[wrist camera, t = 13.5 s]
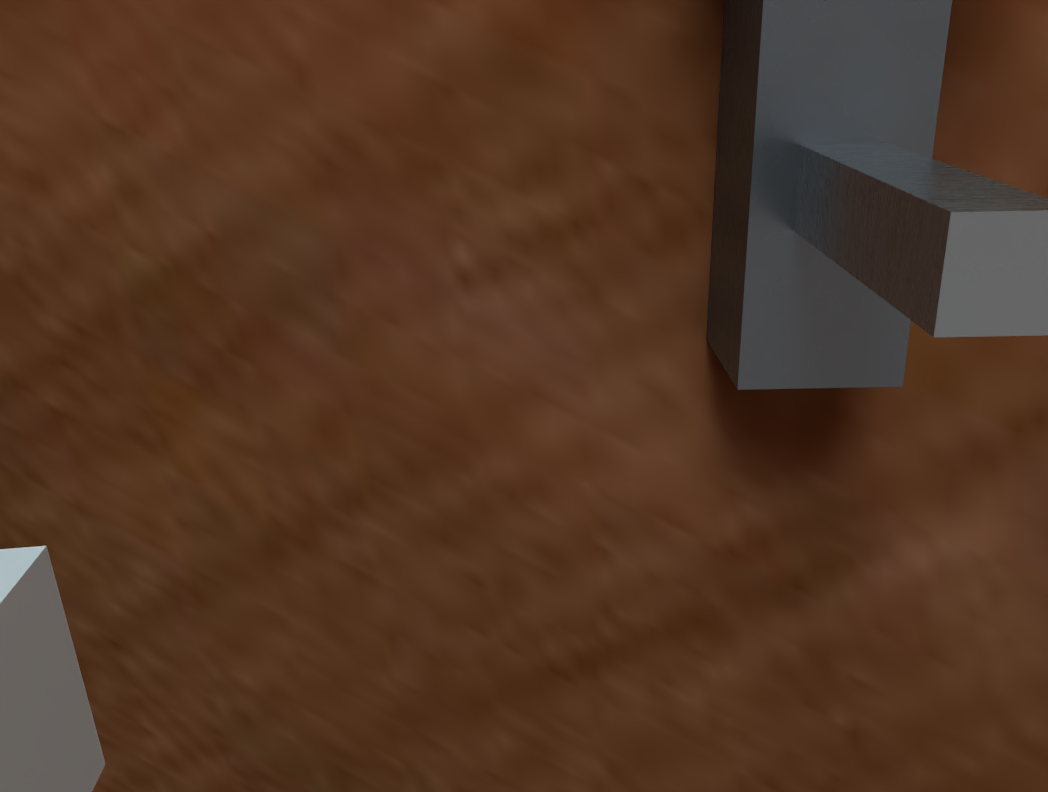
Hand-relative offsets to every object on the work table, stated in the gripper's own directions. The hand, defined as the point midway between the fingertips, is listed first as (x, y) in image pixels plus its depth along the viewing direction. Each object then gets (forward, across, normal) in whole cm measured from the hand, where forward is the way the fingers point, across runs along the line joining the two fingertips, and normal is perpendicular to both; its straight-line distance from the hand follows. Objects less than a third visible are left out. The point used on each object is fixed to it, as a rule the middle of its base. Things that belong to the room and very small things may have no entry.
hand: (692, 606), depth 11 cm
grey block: (+24, +8, +1) cm, 25 cm away
